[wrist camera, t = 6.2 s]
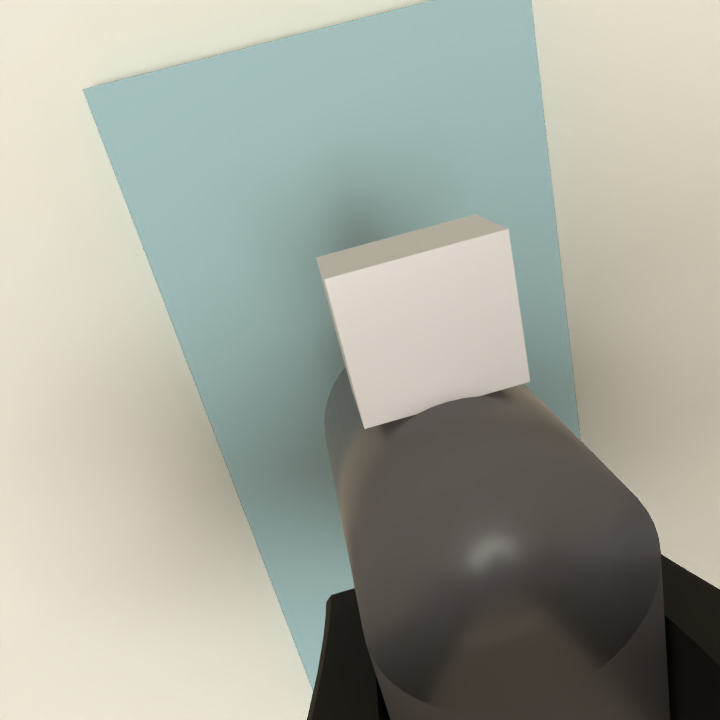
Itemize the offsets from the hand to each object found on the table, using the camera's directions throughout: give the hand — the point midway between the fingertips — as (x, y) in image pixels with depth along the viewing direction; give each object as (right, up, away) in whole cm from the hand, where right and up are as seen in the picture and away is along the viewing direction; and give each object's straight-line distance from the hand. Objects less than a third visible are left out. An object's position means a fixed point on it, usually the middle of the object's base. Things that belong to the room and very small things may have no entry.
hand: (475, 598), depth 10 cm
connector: (0, +1, +2) cm, 2 cm away
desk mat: (-1, +2, +6) cm, 6 cm away
